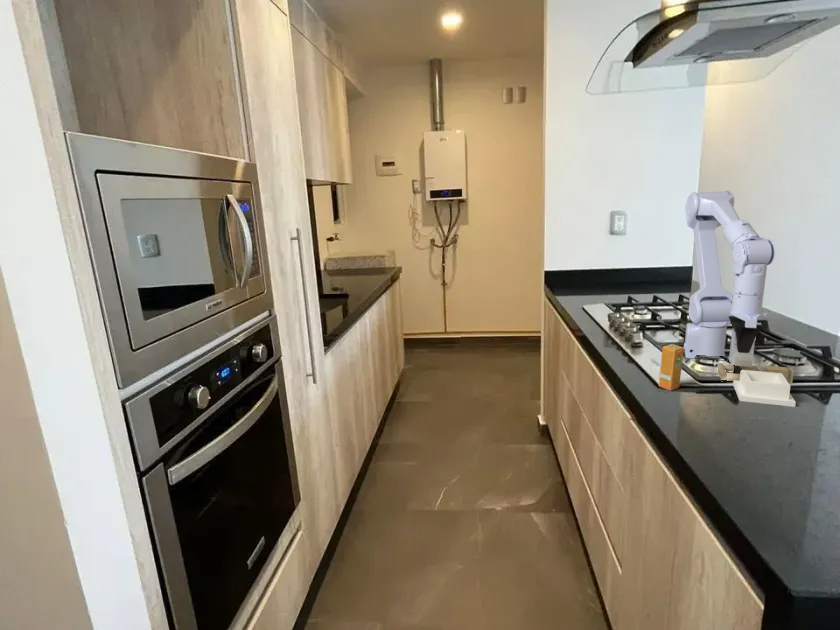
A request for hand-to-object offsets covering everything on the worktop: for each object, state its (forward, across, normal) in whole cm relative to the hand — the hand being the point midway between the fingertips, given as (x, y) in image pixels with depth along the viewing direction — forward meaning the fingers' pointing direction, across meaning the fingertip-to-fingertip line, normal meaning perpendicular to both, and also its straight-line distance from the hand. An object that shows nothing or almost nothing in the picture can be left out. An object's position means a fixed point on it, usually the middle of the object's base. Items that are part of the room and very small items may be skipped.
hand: (741, 349), depth 113 cm
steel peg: (+3, 0, 0) cm, 3 cm away
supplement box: (+7, -11, +15) cm, 20 cm away
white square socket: (+7, -10, -3) cm, 13 cm away
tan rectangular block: (+7, 0, -8) cm, 10 cm away
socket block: (+7, 0, 0) cm, 7 cm away
